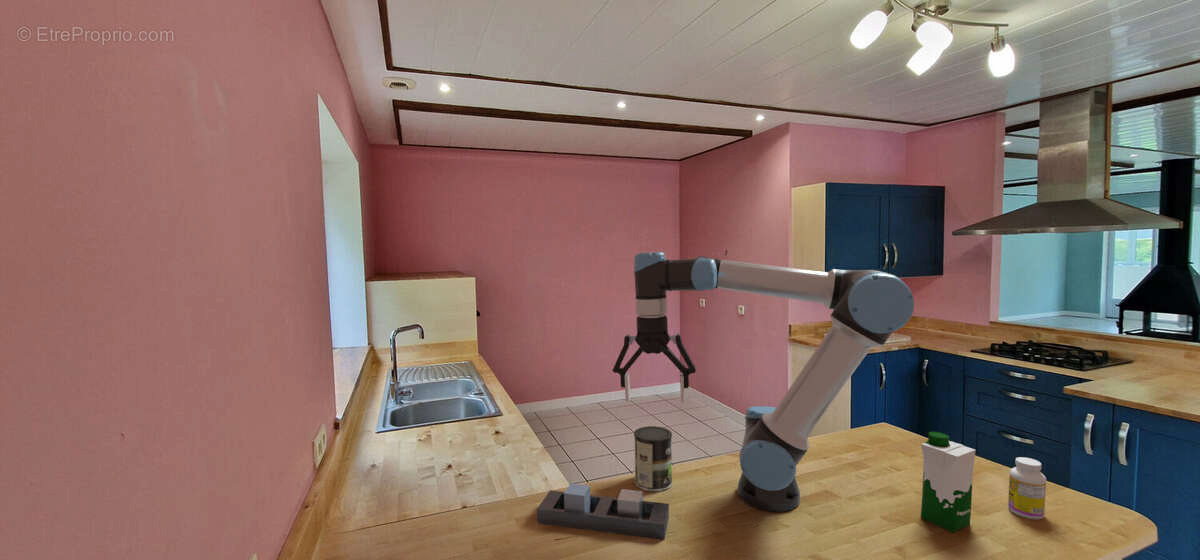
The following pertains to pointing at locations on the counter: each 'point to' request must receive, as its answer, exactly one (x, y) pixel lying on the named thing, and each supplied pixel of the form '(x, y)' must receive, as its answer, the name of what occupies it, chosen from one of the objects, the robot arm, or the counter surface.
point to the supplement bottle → (1027, 489)
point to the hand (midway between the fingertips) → (655, 400)
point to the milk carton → (947, 482)
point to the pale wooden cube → (630, 504)
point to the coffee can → (653, 458)
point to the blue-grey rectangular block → (577, 498)
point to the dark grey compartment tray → (605, 516)
